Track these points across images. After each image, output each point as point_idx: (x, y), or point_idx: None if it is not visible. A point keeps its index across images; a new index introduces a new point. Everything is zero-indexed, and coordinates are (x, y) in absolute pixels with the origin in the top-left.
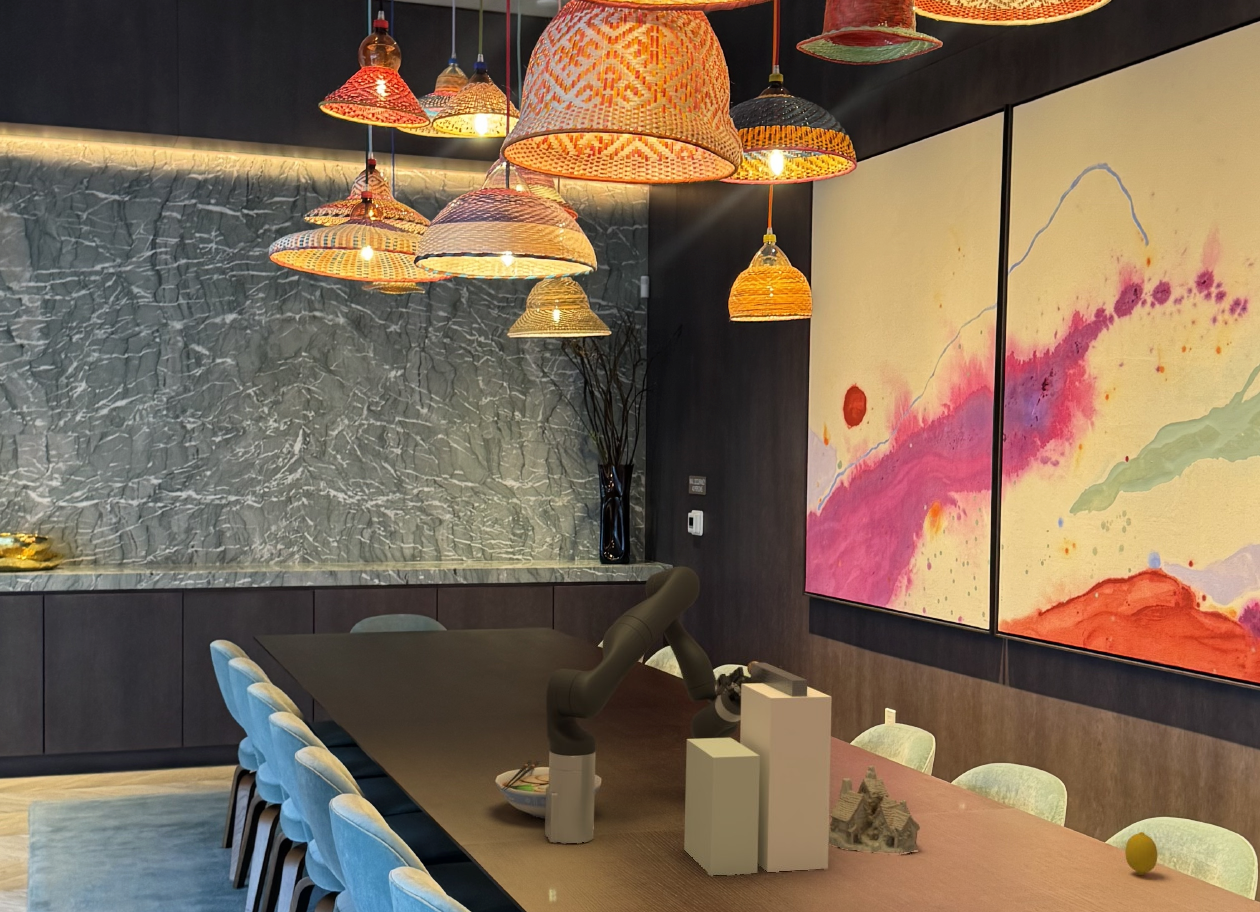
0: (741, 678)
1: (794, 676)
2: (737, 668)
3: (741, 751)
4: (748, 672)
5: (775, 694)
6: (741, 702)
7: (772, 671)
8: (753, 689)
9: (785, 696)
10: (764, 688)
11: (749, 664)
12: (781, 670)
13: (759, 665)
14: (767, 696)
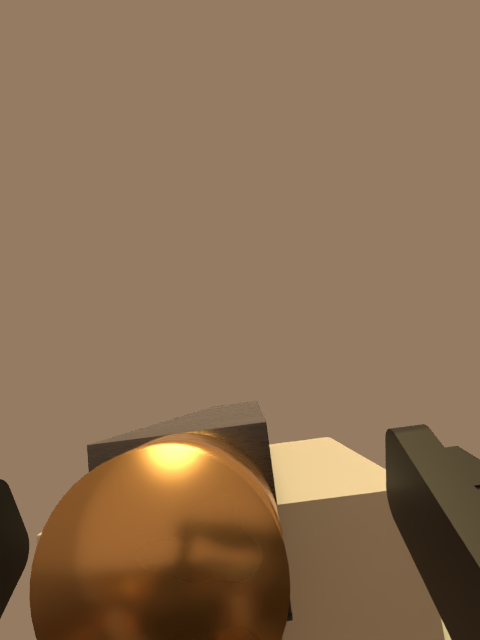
0: (416, 548)
1: (218, 407)
2: (447, 453)
3: (447, 631)
4: (279, 633)
5: (301, 447)
6: (436, 608)
7: (253, 405)
8: (362, 456)
9: (281, 445)
10: (310, 466)
11: (253, 479)
12: (196, 413)
13: (243, 414)
14: (334, 440)
